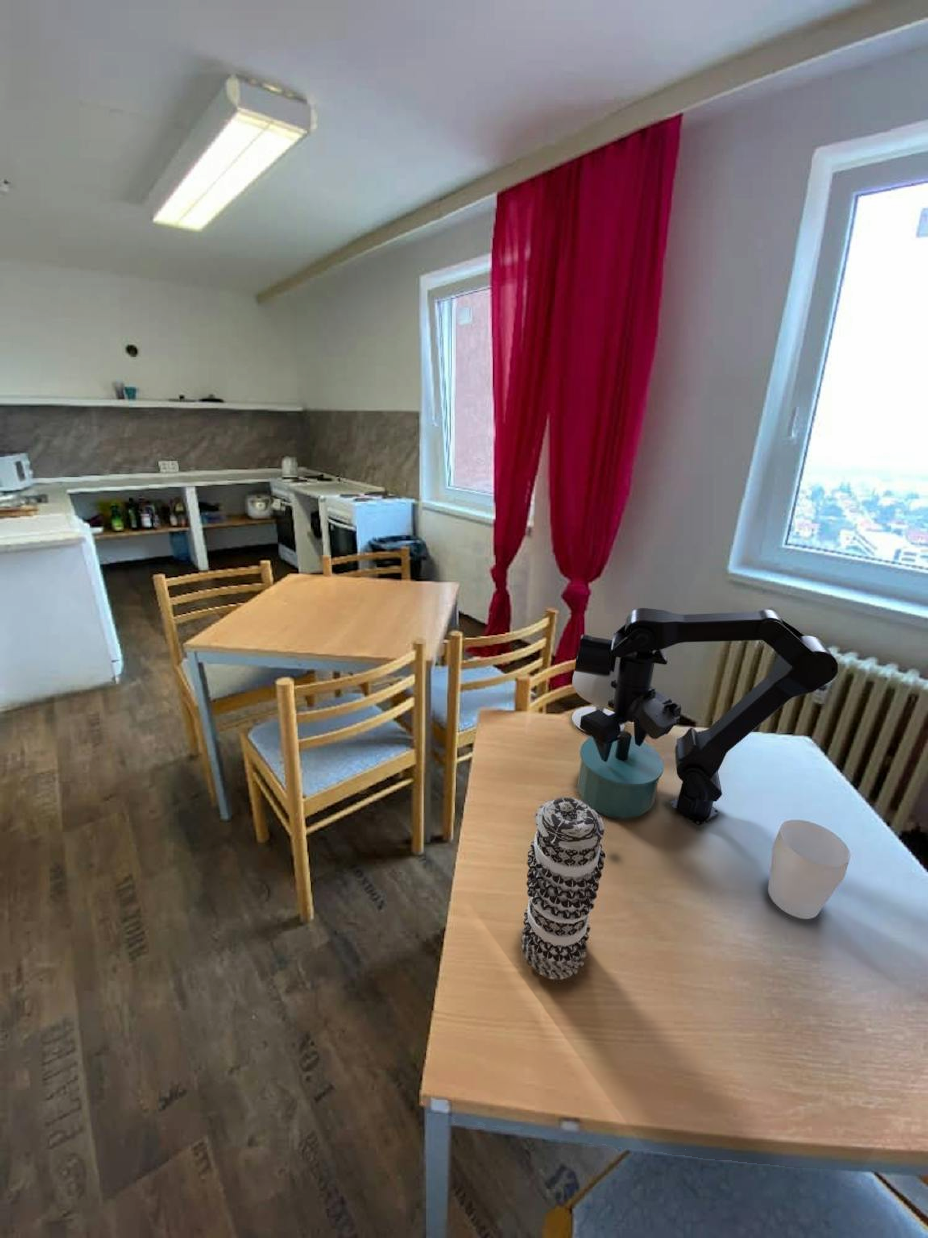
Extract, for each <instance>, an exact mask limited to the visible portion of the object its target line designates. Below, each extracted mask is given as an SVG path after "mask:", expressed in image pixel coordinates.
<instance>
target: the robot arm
mask: <svg viewBox="0 0 928 1238" xmlns="http://www.w3.org/2000/svg"><path fill="white" fill-rule="evenodd" d="M751 641H752V642H753V641H755V642H756V641H758V642H759V641H761V642H764V643H765V644H766V645H768V646H769V647H770V648H771V649H772V650H773V651H774V652H775V653H777V654H778V655H777V656H776V658H775V661H774V663H773V665H772V667H771V669H770V671H769V672H768V675H767V676H765V677H764V679H762V680H761V681H760V682H759V683H758V684H756V686H754V687H753V688H752V689H751V690H750V691H749V692H748V693H747V694H745V695H744V696H743V697H742V698H741V699H740V700H739V701H738V702H736V703H735V704H734V705H733V706H732V707H731V708H730V709H729V710H727V711H726V712H725V713H724V714H723V715H722V716H721V717H720V718H719V719H718V720H716V721H715V722H714V723H713V724H712V725H711V726H710V727H708V728H707V729H703V730H700V731H697V730H696V729H695V728H694V727H690V728H688V730H687V731H686V733H684V735H682V736H680V737H678V738H676V744H675V747H674V756H675V769H676V775H677V777H678V778H679V780H680V781H681V784H680V785H681V786H680V790H679V793H678V797H677V798H675V799H673V800H671V801H669V802H668V803H669V806H670V807H672V808H673V809H674V810H675V811H676V813H679V814H680V815H681V816H682V817H684V818H685V819H687V820H689V821H691V822H692V823H693V824H695V825H697V826H701V825H703V824H705V823H708V822H709V821H711V820H713V819H714V818H715V817H717V816H719V814H720V811H719V810H718V809H716V808H715V807H714V806H713V805H714V803H715V802H717V801H719V799H720V798H721V797H722V796H723V790H722V786H721V781H720V775H719V770H720V768H721V767H722V764H723V762H724V760H725V758H726V756H727V753H729V752H730V751H731V750H732V749H733V748H734V747H735V746H736V745H737V744H739V743H740V742H741V741H743V740H744V739H745V738H746V737H747V736H748V735H750V734H751V733H752V732H753V731H755V730H756V729H757V728H758V727H759V726H760V725H761V724H763V723H764V722H765V721H766V720H767V719H769V718H770V717H771V716H772V715H774V714H775V713H776V712H777V711H778V710H779V709H780V708H781V707H783V706H784V705H785V704H786V703H788V702H789V701H790V700H792V699H793V698H796V697H800V696H804V695H808V694H813V693H814V692H815V691H817V690H820V688H822V687H824V686H826V685H827V684H829V683H831V682H832V681H833V680H834V679H835V678H836V677H837V676H838V673H839V664H838V660H837V659H836V657H835V656H834V655H833V654H832V652H831V650H830V649H829V648H828V647H827V645H826V644H825V643H824V642H823V641H822V640H821V639H820V638H818V637H816V636H811V635H805V634H804V633H802V632H801V631H800V630H799V629H798V628H796V627H795V626H793V625H791V624H790V623H789V622H787V621H786V620H784V619H783V618H782V617H780V616H779V614H778V613H777V612H776V611H774V610H771V609H762V610H758V611H738V612H736V611H735V612H717V613H716V612H715V613H692V614H691V613H688V614H682V613H681V614H680V613H674V612H671V611H668V610H665V609H664V610H663V609H658V608H657V609H656V608H647V607H639V608H636V609H633V610H632V611H631V612H630V613H629V614H628V615H627V617H626V619H625V623H624V624H623V625H622V626H620V628H619V629H617V630H616V631H615V632H614V633H613V634H612V638H611V639H608V638H603V637H602V638H601V637H595V636H592V635H588V634H581V636H580V639H579V646H578V650H577V654H576V657H575V663H574V671H575V672H581V673H587V674H593V675H599V676H605V677H607V676H610V671H611V672H614V669H615V662H616V658H619V659H620V663H619V669H618V676H617V679H616V680H614V681H611V687H613V688H615V695H614V699H612V700H610V701H608V706H607V707H609V708H611V709H612V711H613V712H614V713H613V714H611V715H609V716H608V715H607V714H605V713H604V712H602V711H601V710H596V711H594V712H591V713H588V714H586V715H583V716H581V721H580V728H581V729H582V730H581V729H580V728H579V729H580V730H581V731H583V730H584V731H583V732H585V733H586V734H588V735H589V736H590V737H591V736H592V737H593V739H594V741H595V744H596V747H597V749H598V752H599V754H600V757H601V759H602V760H603V761H604V762H607V760H608V758H609V754H610V751H611V747H612V743H613V742H615V741H617V740H619V739H620V738H618V736H619V734H620V731H621V728H620V725H622V724H627V723H629V722H630V723H633V737H634V738H635V744H636V745H638V746H641V745H642V743H643V742H645V740H646V738H647V737H649V738H651V739H652V740H658V739H659V738H661V737H663V736H665V735H668V734H669V733H670V732H671V731H672V729H673V728H674V726H677V725H679V724H681V723H680V722H681V721H680V719H681V715H682V714H681V713H682V706H681V705H680V703H678V702H677V701H676V700H674V701H673V700H672V699H671V698H669V697H668V696H666V695H664V694H662V693H660V692H659V691H656V688H655V687H654V686H651V685H652V679H653V675H654V670H655V664H657V665H663V666H665V665H667V664H668V655H667V652H666V651H664V650H665V649H667V648H670V647H672V646H675V645H678V644H684V643H710V642H711V643H712V642H713V643H715V642H751Z"/></svg>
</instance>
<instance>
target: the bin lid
mask: <svg viewBox="0 0 928 1238" xmlns="http://www.w3.org/2000/svg"><path fill="white" fill-rule="evenodd" d="M618 738H620V739H619V740H617V741H615V742H613V743H612V747H611V751H610V754H609V758H608V760H607V762H604V761H603V760H602V759H601V757H600V754H599V752H598V749H597V747H596V744H595V741H594V739H593V737H592V736H591V735H590V736H589V737H588V738H586V739H585V740H584V741H583V742H582V744H581V746H580V749H579V755H580V761H581V760H582V762H583V763H584V765H585V766H586V767H587V768H588V769H589V770H590V771H591V772H592V773H594V774H595V775H596V776H598V777H600V778H602V779H604V780H606V781H609V782H611V783H615V784H619V785H624V786H643V785H648V784H651V783H653V782H655V781H657V780H658V779H659V780H660V778H661V777H662V776H663V773H664V771H665V769H664V768H665V763H664V760H663V758H662V756H661V754H660V753H659V752H658V751H657V750H656V749H655V748H654V747H653V746H652V745H650V744H649V743H647V742H646V741H644V742H643V743H642V745H641V746H638V745H636V744H635V738H634V736H633V735H632V733H630V732H629V731H627V730H622V731H620V734H619V736H618Z"/></svg>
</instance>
